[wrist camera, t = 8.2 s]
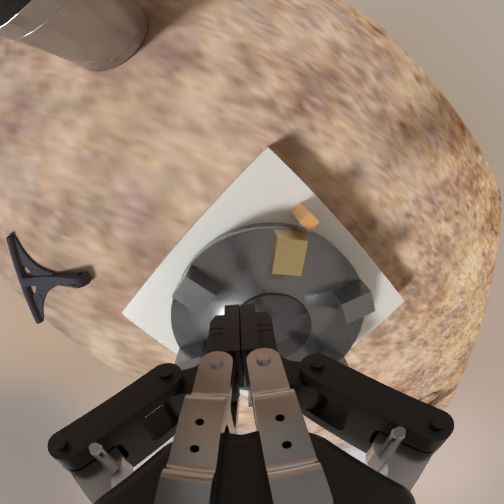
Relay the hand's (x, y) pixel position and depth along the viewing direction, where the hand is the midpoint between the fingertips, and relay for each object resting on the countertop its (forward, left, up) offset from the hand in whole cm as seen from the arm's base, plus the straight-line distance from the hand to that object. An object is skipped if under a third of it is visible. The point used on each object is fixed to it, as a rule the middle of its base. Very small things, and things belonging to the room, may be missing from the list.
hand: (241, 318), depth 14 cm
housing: (+8, -4, -16) cm, 18 cm away
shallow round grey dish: (+8, -4, -13) cm, 16 cm away
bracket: (-15, -23, -17) cm, 33 cm away
